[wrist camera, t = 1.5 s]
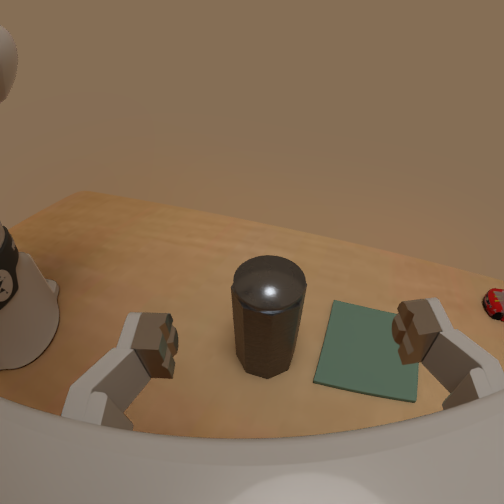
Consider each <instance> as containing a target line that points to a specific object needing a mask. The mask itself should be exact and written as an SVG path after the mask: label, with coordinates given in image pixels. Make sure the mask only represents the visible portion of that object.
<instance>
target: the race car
mask: <svg viewBox="0 0 504 504" xmlns="http://www.w3.org/2000/svg"><path fill="white" fill-rule="evenodd" d="M483 303H484V306H485V309H486V311H487V312H488V314H489V315H490V316H492V319H496V320H500V319H501V321H504V290H503V289H496V288H493V289H491V290H489V291H488V292H487V294H486V295H485V297H484V300H483Z"/></svg>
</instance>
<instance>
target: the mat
mask: <svg viewBox="0 0 504 504" xmlns="http://www.w3.org/2000/svg"><path fill="white" fill-rule="evenodd" d="M396 315H397V314H394V313H389V312H385V311H380V310H376V309H371V308H367V307H363V306H358V305H354V304H349V303H345V302H341V301H337V300H334V302H333V306H332V311H331V315H330V319H329V323H328V327H327V332H326V336H325V340H324V344H323V347H322V351H321V355H320V359H319V363H318V366H317V370H316V374H315V377H314V381H313V383H316V384H321V385H325V386H329V387H333V388H338V389H342V390H347V391H352V392H357V393H361V394H366V395H372V396H377V397H382V398H388V399H394V400H400V401H406V402H413V403H415V402H416V398H417V385H418V365H419V363H413V364H407V365H402V362H401V359H400V356H399V354H398V348H399V346H400V345H398V344H397V343H396V342H395V341H394V339H393V336H392V322H393V319H394V317H395V316H396Z"/></svg>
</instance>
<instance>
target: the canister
mask: <svg viewBox="0 0 504 504" xmlns="http://www.w3.org/2000/svg"><path fill="white" fill-rule="evenodd" d="M233 281H234V283H233V285H232V286H231V295H232V308H233V320H234V332H235V344H236V355H237V357H238V359H239V361H240V362H241V364H242V366H243V368H244V370H245V372H246V373H249V374H253V375H256V376H259V377H263V378H266V379H269V378H271V377H273V376H276V375H278V374H280V373H283V372H285V371H287V370H288V369H289V366H290V363H291V360H292V357H293V354H294V351H295V346H296V341H297V336H298V331H299V325H300V320H301V315H302V309H303V304H304V298H305V293H306V287H307V284H306V280H305V276H304V273H303V271H302V270H301V269H300V268H299V266H297V265H296V264H295V263H294V262H292V261H290V260H288V259H286V258H283V257H279V256H270V255H266V256H258V257H255V258H252V259H249V260H247V261H246V262H244V263H243V264H241V265H240V266H239V268H238V269H237V270H236V272H235V274H234V280H233Z"/></svg>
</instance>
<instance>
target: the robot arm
mask: <svg viewBox="0 0 504 504" xmlns="http://www.w3.org/2000/svg"><path fill="white" fill-rule="evenodd" d="M17 65H18V55H17V49H16V45H15V42H14V40H13V38H12V36H11V35H10V33H9V32H8V31H7V30H6V29H5V28H4V27H2V26H1V25H0V103H1V102H2V101H4V100H5V99H6V98H7V96H8V94H9V92H10V90H11V88H12V85H13V83H14V80H15V76H16V71H17ZM58 292H59V285H58V284H57V283H56V281H54V280H49V279H45V278H44V276H43V275H42V273H41V272H40V270H39V268H38V267H37V265H36V264H35V262H34V260H33V259H32V257H31V256H30V255H29V254H28V253H27V254H26V253H24V252H18V249H17V247H16V245H15V242H14V240H13V238H12V236H11V234H10V233H9V232H8V230H7V228H6V227H5V226H2V224H1V222H0V370H2V369H15V368H19V367H22V366H24V365H26V364H28V363H30V362H31V361H33V360H34V359H36V358H37V357H38V356H39V355H40V354H41V353H42V352H43V351H44V350H45V349H46V347H47V346H48V345H49V343H50V342H51V340H52V338H53V336H54V334H55V332H56V329H57V326H58V322H59V308H58V304H57V296H58ZM397 309H398V312H399V313H398V314H397V315H396V316H395V317H394V319H393V322H392V336H393V339H394V341H395V342H396V343H397V344H398V345H400V346H399V348H398V354H399V356H400V359H401V362H402V365H407V364H413V363H419V362H422V364H423V365H424V366H425V367H426V368H427V369H428V370H429V372H430V373H431V374H432V375H433V376H434V377H435V378H436V379H437V380H438V381H439V382H440V383H441V384H442V385H443V386H444V387H445V388H446V389H447V390H448V391H449V392H450V393H451V394H450V395H449V396H448V397H447V398H446V399H445V400H444V402H443V404H442V406H443V410H442V411H439V412H435V413H432V414H428V415H424V416H420V417H416V418H412V419H408V420H404V421H399V422H395V423H390V424H385V425H380V426H375V427H369V428H363V429H357V430H351V431H344V432H336V433H328V434H319V435H309V436H297V437H281V438H253V439H228V438H200V437H185V436H173V435H162V434H154V433H145V432H138V431H132V430H133V423H132V422H131V421H130V420H129V419H128V418H127V417H126V416H125V415H124V413H123V412H124V411H125V410H126V409H127V408H128V406H129V405H130V404H131V403H132V401H133V400H134V399H135V398H136V397H137V395H138V394H139V393H140V392H141V391H142V389H143V388H144V387H145V386H146V384H147V383H148V382H149V381H150V380H151V378H168V379H173V374H174V368H175V361H174V359H173V357H174V356H175V355H176V354H177V351H178V334H177V330H176V328H175V327H174V326H172V322H173V319H172V316H171V314H169V313H140V312H130V313H129V314H128V315H127V318H126V320H125V323H124V326H123V329H122V332H121V335H120V338H119V341H118V344H117V347H116V348H112V349H111V350H110V351H109V352H108V353H106V354H105V355H104V356H103V357H102V358H101V359H100V360H99V361H98V362H96V363H95V364H94V365H93V366H92V367H91V368H90V369H89V370H88V371H86V372H85V373H84V374H83V375H82V376H81V377H80V378H79V379H78V380H77V381H75V382H74V383H73V384H72V385H71V386H70V389H69V392H68V395H67V398H66V401H65V404H64V407H63V411H62V414H61V416H59V415H55V414H51V413H48V412H44V411H41V410H37V409H34V408H31V407H28V406H25V405H22V404H19V403H16V402H13V401H10V400H7V399H5V398H2V397H0V504H504V372H503V370H502V368H501V366H500V363H499V361H498V360H497V359H496V358H494V357H493V356H492V355H491V354H489V353H488V352H487V351H485V350H484V349H483V348H481V347H480V346H479V345H478V344H476V343H475V342H474V341H472V340H471V339H470V338H468V337H467V336H466V335H464V334H463V333H462V332H460V331H459V330H458V329H454V328H453V326H452V324H451V322H450V320H449V318H448V316H447V314H446V312H445V311H444V309H443V307H442V305H441V303H440V301H439V299H437V298H428V299H418V300H411V301H402V302H401V303H400V304H399V306H398V308H397Z"/></svg>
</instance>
